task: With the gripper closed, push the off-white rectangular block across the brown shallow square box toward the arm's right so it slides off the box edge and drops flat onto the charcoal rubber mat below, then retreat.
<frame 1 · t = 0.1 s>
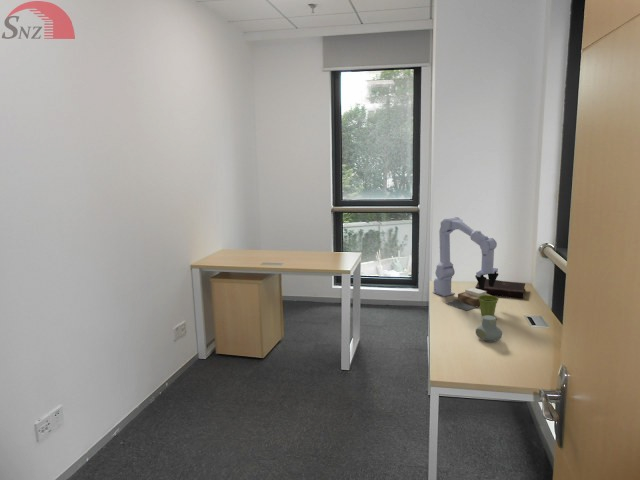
hand: (486, 287, 244), 10 cm above the table, fingers open, 7 cm apart
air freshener: (488, 339, 206), on the table
diary: (500, 292, 269), on the table
plant pot: (487, 315, 234), on the table
mat: (460, 305, 248), on the table
brown shallow square box: (474, 301, 254), on the table
off-white rectangular block: (475, 294, 254), point 4 cm above the table, touching brown shallow square box
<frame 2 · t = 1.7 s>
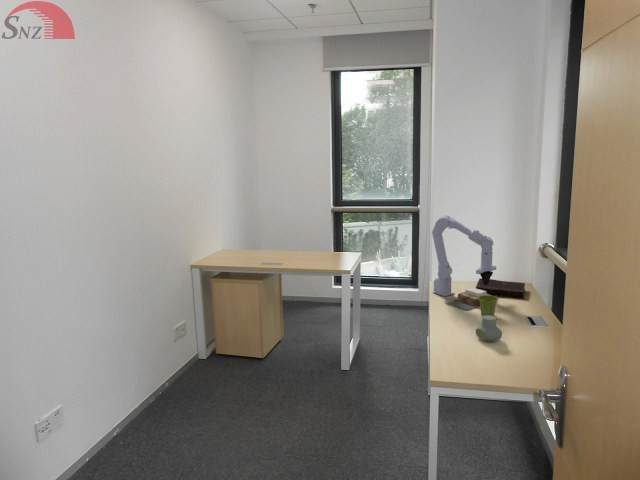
hand: (485, 284, 257), 8 cm above the table, fingers closed
nothing on the table moved.
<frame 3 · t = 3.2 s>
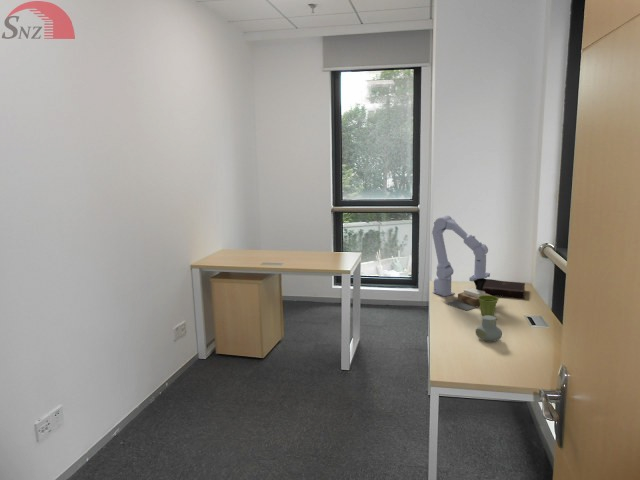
hand: (479, 291, 255), 5 cm above the table, fingers closed
off-white rectangular block: (474, 294, 253), point 4 cm above the table, touching brown shallow square box, gripper
everything else where it was.
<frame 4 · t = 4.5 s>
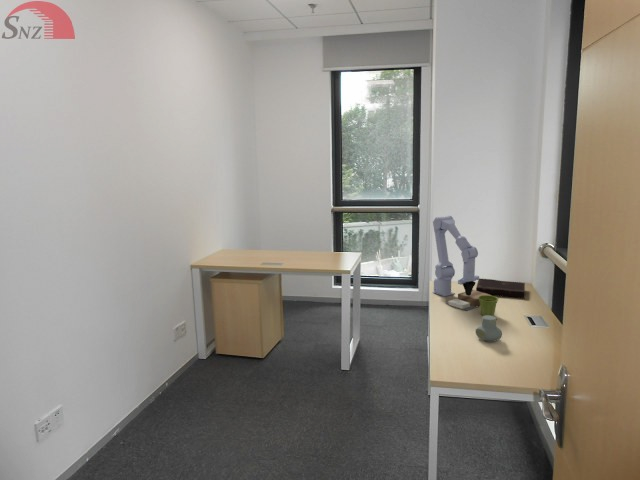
hand: (468, 295, 250), 5 cm above the table, fingers closed
off-white rectangular block: (459, 301, 247), point 2 cm above the table, tilted 180°, touching mat
everything else where it was.
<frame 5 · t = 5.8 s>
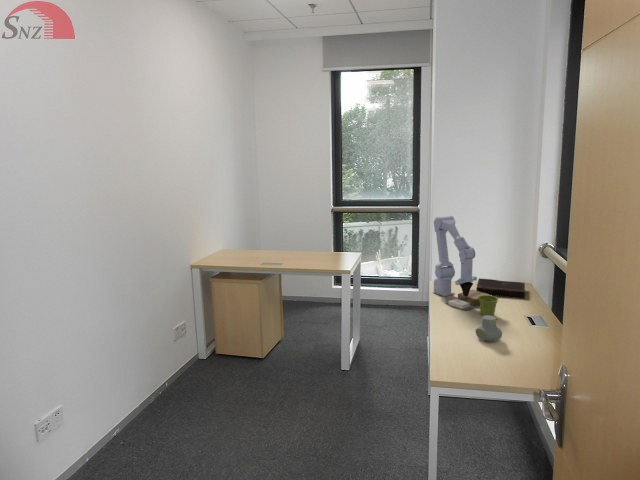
hand: (465, 295, 249), 5 cm above the table, fingers closed
nothing on the table moved.
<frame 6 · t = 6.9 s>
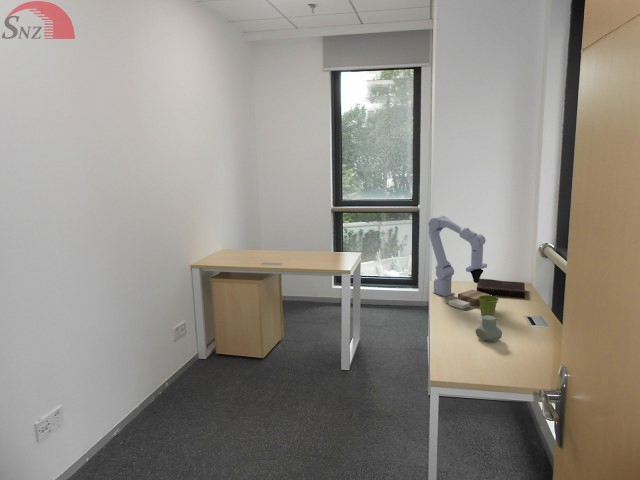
hand: (476, 282, 253), 10 cm above the table, fingers closed
nothing on the table moved.
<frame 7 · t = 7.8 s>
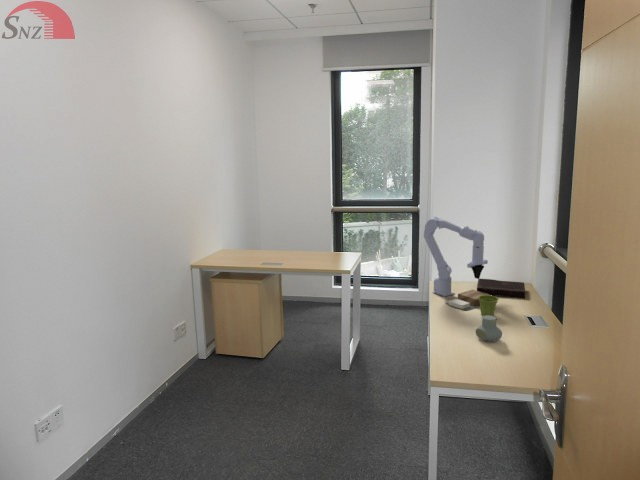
hand: (476, 278, 260), 10 cm above the table, fingers closed
nothing on the table moved.
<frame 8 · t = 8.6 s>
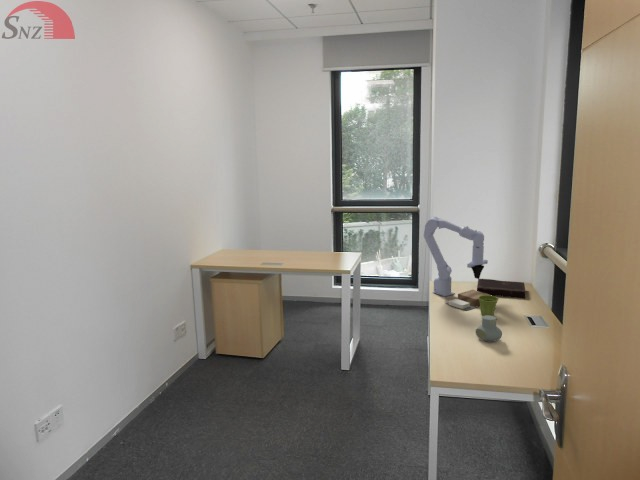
hand: (476, 278, 260), 10 cm above the table, fingers closed
nothing on the table moved.
at the end: off-white rectangular block point 2.3 cm above the table; off-white rectangular block inside the target area (1.2 cm from its centre), point 2.3 cm above the table; off-white rectangular block touching mat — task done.
